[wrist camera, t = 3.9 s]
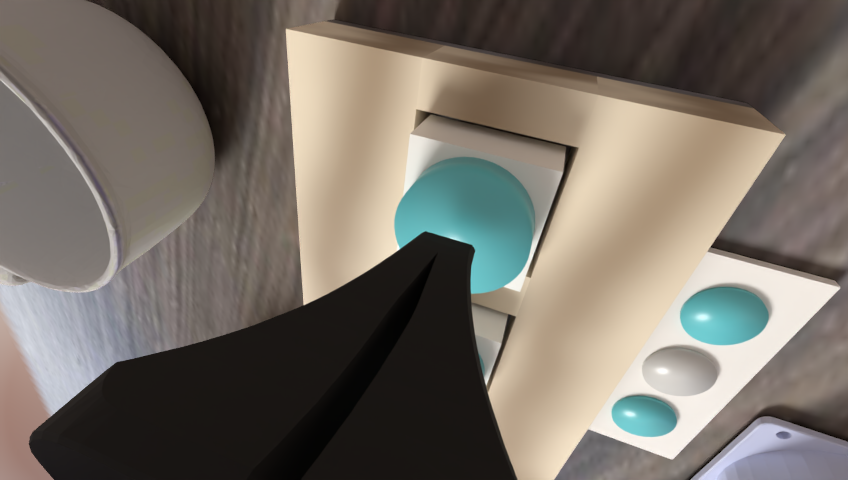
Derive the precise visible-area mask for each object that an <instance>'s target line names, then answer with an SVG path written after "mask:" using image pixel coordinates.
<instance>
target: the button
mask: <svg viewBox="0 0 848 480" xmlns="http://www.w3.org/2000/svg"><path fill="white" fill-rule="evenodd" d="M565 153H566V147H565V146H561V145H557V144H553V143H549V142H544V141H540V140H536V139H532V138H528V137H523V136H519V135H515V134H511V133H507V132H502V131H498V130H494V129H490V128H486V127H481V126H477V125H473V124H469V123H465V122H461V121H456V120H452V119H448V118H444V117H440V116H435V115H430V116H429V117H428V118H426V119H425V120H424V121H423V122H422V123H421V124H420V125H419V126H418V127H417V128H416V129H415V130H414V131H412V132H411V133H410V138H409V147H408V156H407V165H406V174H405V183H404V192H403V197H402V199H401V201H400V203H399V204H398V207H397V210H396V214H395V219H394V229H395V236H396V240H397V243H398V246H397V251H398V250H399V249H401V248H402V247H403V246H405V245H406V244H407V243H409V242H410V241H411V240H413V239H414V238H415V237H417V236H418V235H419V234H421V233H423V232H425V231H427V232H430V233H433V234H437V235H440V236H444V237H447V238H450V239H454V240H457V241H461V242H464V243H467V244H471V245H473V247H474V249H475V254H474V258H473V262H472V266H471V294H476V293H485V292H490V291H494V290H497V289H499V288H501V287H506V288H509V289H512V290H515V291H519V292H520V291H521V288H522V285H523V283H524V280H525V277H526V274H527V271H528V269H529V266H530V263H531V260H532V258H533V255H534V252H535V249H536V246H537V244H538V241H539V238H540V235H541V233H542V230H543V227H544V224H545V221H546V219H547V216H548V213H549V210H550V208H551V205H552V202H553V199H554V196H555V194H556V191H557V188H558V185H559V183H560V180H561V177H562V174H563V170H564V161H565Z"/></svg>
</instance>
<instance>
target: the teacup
mask: <svg viewBox="0 0 848 480" xmlns="http://www.w3.org/2000/svg"><path fill="white" fill-rule="evenodd" d="M214 170H215V151H214V143H213V138H212V133H211V130H210V127H209V123H208V120H207V117H206V115H205V113H204V110H203V108H202V105H201V103H200V101H199V99H198V97H197V96H196V94H195V92H194V90H193V89H192V87H191V85H190V84H189V82H188V81H187V79H186V78H185V77H184V75H183V74H182V73H181V71H180V70H179V69H178V67H177V66H176V65H175V64H174V63H173V61H172V60H171V59H170V58H169V57H168V56H167V55H166V54H165V52H164V51H163V50H162V49H161V48H160V47H159V46H158V45H157V44H156V43H154V42H153V41H152V40H151V39H150V38H149V37H148V36H146V35H145V34H144V33H143V32H142V31H141V30H139V29H138V28H137V27H135V26H134V25H132V24H131V23H129V22H128V21H126V20H125V19H123V18H122V17H120V16H118V15H117V14H115V13H113V12H112V11H110V10H108V9H106V8H103V7H101V6H99V5H97V4H94V3H92V2H89V1H86V0H0V283H1V284H3V285H9V286H17V285H22V284H26V283H29V282H33V283H36V284H38V285H41V286H43V287H46V288H49V289H53V290H59V291H64V292H77V293H78V292H90V291H94V290H97V289H99V288H101V287H103V286H105V285H106V284H107V283H109V282H111V281H112V280H113V278H114V277H115V276H116V275H117V274H118V273H119V271H120V270H121V269H123V268H124V267H126V266H127V265H128V264H130V263H131V262H133V261H134V260H135V259H137V258H138V257H140V256H141V255H142V254H144V253H145V252H147V251H148V250H149V249H151V248H152V247H153V246H154V245H156V244H157V243H158V242H160V241H161V240H162V239H163V238H165V237H166V236H167V235H169V234H170V233H171V232H172V231H174V230H175V229H176V228H177V227H178V226H180V225H181V224H182V223H183V222H184V221H186V220H187V219H188V218H189V217H190V216H191V215H192V214H193V213H194V212H195V211H196V210H197V209H198V207H199V206H200V205H201V204H202V202H203V200H204V199H205V197H206V195H207V194H208V191H209V189H210V186H211V184H212V180H213V175H214Z"/></svg>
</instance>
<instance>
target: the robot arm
mask: <svg viewBox="0 0 848 480" xmlns="http://www.w3.org/2000/svg"><path fill="white" fill-rule="evenodd" d="M474 254H475V249H474V247H473V245H471V244H467V243H464V242H461V241H457V240H454V239H450V238H447V237H444V236H440V235H437V234H433V233H430V232H427V231H425V232H423V233H421V234H419V235H418V236H417V237H415V238H414V239H413V240H411V241H410V242H409V243H407V244H406V245H405V246H403V247H402V248H401V249H399V250H398V251H396V252H395V253H394V254H392V255H391V256H389V257H388V258H386V259H385V260H383V261H382V262H380V263H379V264H377V265H376V266H374V267H373V268H371V269H370V270H368V271H367V272H365V273H363V274H362V275H360V276H358V277H356V278H355V279H353V280H351V281H350V282H348V283H346V284H344V285H343V286H341V287H339V288H337V289H336V290H334V291H332V292H330V293H328V294H326V295H324V296H322V297H320V298H318V299H316V300H314V301H312V302H310V303H307V304H305V305H303V306H301V307H299V308H297V309H294V310H292V311H289V312H287V313H284V314H282V315H279V316H277V317H274V318H272V319H269V320H266V321H264V322H261V323H259V324H256V325H253V326H250V327H248V328H245V329H241V330H238V331H235V332H232V333H229V334H226V335H223V336H219V337H216V338H213V339H209V340H206V341H203V342H199V343H195V344H192V345H188V346H184V347H180V348H176V349H172V350H168V351H164V352H159V353H155V354H151V355H147V356H143V357H139V358H134V359H130V360H125V361H121V362H116V363H115V364H114V365H113V366H111V367H110V368H109V369H107V370H106V371H105V372H104V373H102V374H101V375H100V376H99V377H98V378H96V379H95V380H94V381H93V382H92V383H90V384H89V385H88V386H87V387H86V388H84V389H83V390H82V391H81V392H80V393H78V394H77V395H76V396H75V397H74V398H72V399H71V400H70V401H69V402H68V403H67V404H65V405H64V406H63V407H62V408H61V409H59V410H58V411H57V412H56V413H55V414H53V415H52V416H51V417H50V418H49V419H48V420H46V421H45V422H44V423H43V424H42V425H41V426H39V427H38V428H37V429H36V430H35V431H34V432H33V433H32V434H31V436H30V441H29V445H30V449H31V452H32V453H33V455H34V456H35V458H36V459H37V460H38V461H39V463H40V464H41V465H42V466H43V467H44V469H45V470H46V471H47V472H48V473H49V474H50V475H51V477H52V478H53V479H54V480H518V479H517V476H516V474H515V471H514V469H513V466H512V463H511V461H510V458H509V455H508V453H507V450H506V447H505V445H504V442H503V439H502V436H501V433H500V430H499V426H498V423H497V420H496V417H495V414H494V411H493V408H492V405H491V402H490V399H489V395H488V391H487V388H486V384H485V380H484V376H483V372H482V368H481V363H480V359H479V354H478V349H477V343H476V337H475V330H474V323H473V315H472V303H471V266H472V262H473V258H474ZM691 480H848V442H847V441H844V440H841V439H838V438H835V437H832V436H829V435H826V434H823V433H820V432H817V431H814V430H811V429H808V428H805V427H802V426H799V425H796V424H793V423H790V422H787V421H784V420H781V419H777V418H774V417H770V416H764V417H760V418H758V419H756V420H755V421H754V422H753V423H752V424H751V425H750V426H749V427H747V428H746V429H745V430H744V431H743V432H742V433H741V434H740V435H739V436H738V437H737V438H735V439H734V440H733V441H732V442H731V443H730V444H729V445H728V446H727V447H726V448H724V449H723V450H722V451H721V452H720V453H719V454H718V455H717V456H716V457H715V458H714V459H712V460H711V461H710V462H709V463H708V464H707V465H706V466H705V467H704V468H703V469H701V470H700V471H699V472H698V473H697V474H696V475H695V476H694V477H693V478H692V479H691Z"/></svg>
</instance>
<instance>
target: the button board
mask: <svg viewBox="0 0 848 480" xmlns="http://www.w3.org/2000/svg"><path fill="white" fill-rule="evenodd" d="M286 39H287V55H288V70H289V86H290V101H291V117H292V132H293V148H294V163H295V179H296V194H297V210H298V225H299V241H300V256H301V271H302V287H303V302H304V305H305V304H307V303H310V302H312V301H314V300H316V299H318V298H320V297H322V296H324V295H326V294H328V293H330V292H332V291H334V290H336V289H337V288H339V287H341V286H343V285H344V284H346V283H348V282H350V281H351V280H353V279H355V278H356V277H358V276H360V275H362V274H363V273H365V272H367V271H368V270H370V269H371V268H373V267H374V266H376V265H377V264H379V263H380V262H382V261H383V260H385V259H386V258H388V257H389V256H391V255H392V254H394V253H395V252H396V251H397V246H398V243H397V240H396V236H395V229H394V219H395V214H396V210H397V207H398V204H399V203H400V201H401V199H402V197H403V192H404V183H405V174H406V165H407V156H408V147H409V138H410V133H411V132H412V131H414V130H415V129H416V128H417V127H418V126H419V125H420V124H421V123H422V122H423V121H424V120H425V119H426V118H428V117H429V116H430V115H435V116H440V117H444V118H448V119H452V120H456V121H461V122H465V123H469V124H473V125H477V126H481V127H486V128H490V129H494V130H498V131H502V132H507V133H511V134H515V135H519V136H523V137H528V138H532V139H536V140H540V141H544V142H549V143H553V144H557V145H561V146H565V147H566V153H565V161H564V170H563V174H562V177H561V180H560V183H559V185H558V188H557V191H556V194H555V196H554V199H553V202H552V205H551V208H550V210H549V213H548V216H547V219H546V221H545V224H544V227H543V230H542V233H541V235H540V238H539V241H538V244H537V246H536V249H535V252H534V255H533V258H532V260H531V263H530V266H529V269H528V271H527V274H526V277H525V280H524V283H523V285H522V288H521V291H520V292H519V291H515V290H512V289H509V288H506V287H501V288H499V289H497V290H494V291H490V292H485V293H476V294H471V302H473V303H476V304H479V305H482V306H485V307H488V308H491V309H494V310H497V311H500V312H503V313H507V314H508V317H507V322H506V326H505V331H504V335H503V339H502V344H501V346H500V349H499V352H498V355H497V358H496V360H495V363H494V366H493V369H492V371H491V374H490V377H489V380H488V383H487V385H486V388H487V391H488V395H489V399H490V402H491V405H492V408H493V411H494V414H495V417H496V420H497V423H498V426H499V430H500V433H501V436H502V439H503V442H504V445H505V447H506V450H507V453H508V455H509V458H510V461H511V463H512V466H513V469H514V471H515V474H516V476H517V479H518V480H554V479H555V477H556V476H557V474H558V473H559V471H560V470H561V468H562V467H563V465H564V464H565V462H566V461H567V459H568V458H569V456H570V455H571V453H572V452H573V450H574V449H575V447H576V446H577V444H578V443H579V441H580V440H581V438H582V437H583V435H584V434H585V432H586V431H587V429H588V428H589V427H590V425H591V424H592V422H593V421H594V419H595V418H596V416H597V415H598V413H599V412H600V410H601V409H602V407H603V406H604V404H605V403H606V401H607V400H608V398H609V397H610V395H611V394H612V392H613V391H614V389H615V388H616V386H617V385H618V383H619V382H620V380H621V379H622V377H623V376H624V374H625V373H626V371H627V370H628V369H629V367H630V366H631V364H632V363H633V361H634V360H635V358H636V357H637V355H638V354H639V352H640V351H641V349H642V348H643V346H644V345H645V343H646V342H647V340H648V339H649V337H650V336H651V334H652V333H653V331H654V330H655V328H656V327H657V325H658V324H659V322H660V321H661V319H662V318H663V316H664V315H665V314H666V312H667V311H668V309H669V308H670V306H671V305H672V303H673V302H674V300H675V299H676V297H677V296H678V294H679V293H680V291H681V290H682V288H683V287H684V285H685V284H686V282H687V281H688V279H689V278H690V276H691V275H692V273H693V272H694V270H695V269H696V267H697V266H698V264H699V263H700V261H701V260H702V259H703V257H704V256H705V254H706V253H707V251H708V250H709V248H710V247H711V245H712V244H713V242H714V241H715V239H716V238H717V236H718V235H719V233H720V232H721V230H722V229H723V227H724V226H725V224H726V223H727V221H728V220H729V218H730V217H731V215H732V214H733V212H734V211H735V209H736V208H737V206H738V205H739V204H740V202H741V201H742V199H743V198H744V196H745V195H746V193H747V192H748V190H749V189H750V187H751V186H752V184H753V183H754V181H755V180H756V178H757V177H758V175H759V174H760V172H761V171H762V169H763V168H764V166H765V165H766V163H767V162H768V160H769V159H770V157H771V156H772V154H773V153H774V151H775V150H776V148H777V147H778V146H779V144H780V143H781V141H782V140H783V138H784V137H785V134H784V133H783V132H782V131H781V130H779V129H778V128H777V127H776V126H775V125H773V124H772V123H771V122H770V121H769V120H767V119H766V118H765V117H764V116H762V115H761V114H760V113H759V112H758V111H756V110H755V109H754V108H753V107H752V106H750V105H749V104H748V103H744V102H739V101H734V100H729V99H724V98H719V97H714V96H709V95H704V94H700V93H695V92H690V91H685V90H680V89H675V88H670V87H665V86H660V85H655V84H650V83H645V82H640V81H635V80H630V79H625V78H620V77H615V76H610V75H605V74H601V73H596V72H591V71H586V70H581V69H576V68H571V67H566V66H561V65H556V64H551V63H546V62H541V61H536V60H531V59H526V58H521V57H516V56H511V55H506V54H501V53H497V52H492V51H487V50H482V49H477V48H472V47H467V46H462V45H457V44H452V43H447V42H442V41H437V40H432V39H427V38H422V37H417V36H412V35H407V34H402V33H398V32H393V31H388V30H383V29H378V28H373V27H368V26H363V25H358V24H353V23H348V22H343V21H338V20H328V21H323V22H318V23H313V24H308V25H303V26H298V27H293V28H287V29H286Z"/></svg>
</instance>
